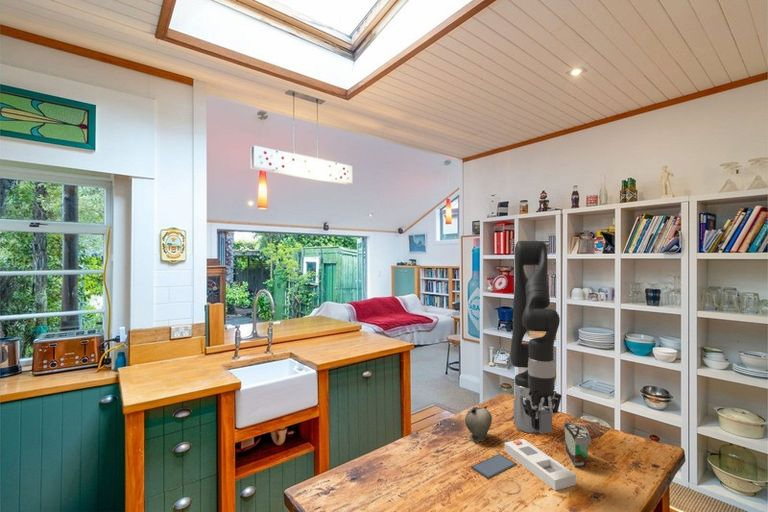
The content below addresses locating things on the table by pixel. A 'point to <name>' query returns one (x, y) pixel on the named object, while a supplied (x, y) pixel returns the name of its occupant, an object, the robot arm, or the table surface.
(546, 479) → the power strip
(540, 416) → the block
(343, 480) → the table surface
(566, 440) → the food container
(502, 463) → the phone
